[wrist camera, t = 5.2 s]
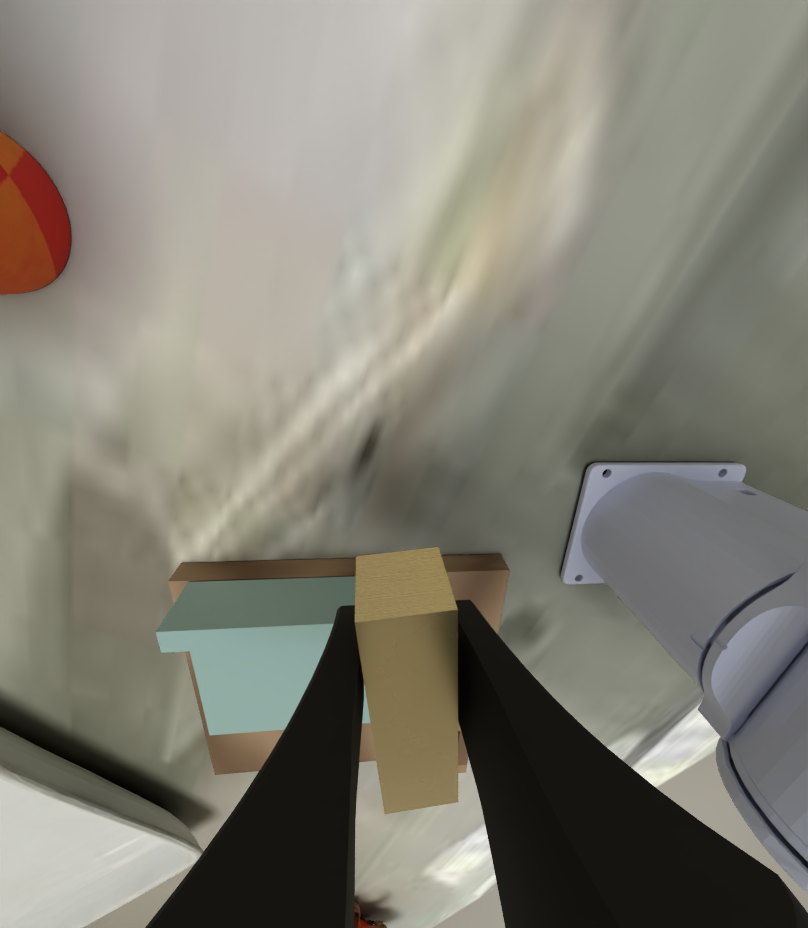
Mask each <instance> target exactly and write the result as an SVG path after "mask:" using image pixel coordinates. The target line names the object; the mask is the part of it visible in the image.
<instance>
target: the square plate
mask: <svg viewBox="0 0 808 928" xmlns="http://www.w3.org/2000/svg"><path fill="white" fill-rule="evenodd" d="M203 852H204V851H203V850H202V848H201V847H200V846H199V844H198V842H197V840H196V839H195V837H194V836H193V834H192V833H191V832H190V830H189V829H188V828H187V826H186V825H184V824H183V823H182V822H181V821H180V820H179V819H177V818H176V817H175V816H174V815H172V814H171V813H169V812H168V811H166V810H165V809H163V808H161V807H159V806H157V805H155V804H153V803H152V802H150V801H148V800H146V799H144V798H142V797H140V796H138V795H136V794H134V793H132V792H130V791H128V790H126V789H124V788H122V787H120V786H118V785H116V784H114V783H112V782H110V781H108V780H106V779H104V778H102V777H100V776H98V775H96V774H94V773H92V772H90V771H88V770H86V769H84V768H82V767H80V766H78V765H76V764H74V763H72V762H69V761H67V760H65V759H63V758H61V757H59V756H57V755H55V754H53V753H51V752H49V751H46V750H44V749H43V748H41V747H39V746H37V745H35V744H33V743H31V742H29V741H27V740H25V739H23V738H21V737H19V736H17V735H15V734H14V733H12V732H10V731H8V730H6V729H4V728H2V727H0V928H83V927H85V926H87V925H88V924H90V923H92V922H94V921H96V920H97V919H99V918H101V917H103V916H104V915H106V914H108V913H110V912H112V911H114V910H115V909H117V908H119V907H121V906H123V905H124V904H126V903H128V902H130V901H132V900H133V899H135V898H137V897H139V896H141V895H142V894H144V893H146V892H147V891H149V890H151V889H153V888H154V887H156V886H158V885H160V884H161V883H163V882H165V881H167V880H168V879H170V878H172V877H173V876H175V875H177V874H178V873H180V872H182V871H183V870H185V869H187V868H188V867H190V866H192V865H193V864H195V863H196V862H197V860H198V859H199V858H200V856H201V855H202V854H203Z"/></svg>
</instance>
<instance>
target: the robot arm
mask: <svg viewBox="0 0 808 928" xmlns="http://www.w3.org/2000/svg"><path fill="white" fill-rule="evenodd" d="M606 469H607V472H606V473H605V474H604V475H602V473H603V471H605V470H606ZM745 473H746V467H745V466H744V465H742V464H740V463H593V464H591V465H590V466H589V467H588V468H587V470H586V474H585V478H584V482H583V486H582V490H581V494H580V498H579V502H578V506H577V510H576V515H575V519H574V523H573V527H572V531H571V535H570V539H569V543H568V547H567V551H566V555H565V559H564V563H563V568H562V572H561V579H562V580H563V582H564V583H565V584H592V583H606V584H607V585H608V586H609V587H610V588H611V590H612V591H613V592H614V593H615V594H616V595H617V596H618V597H619V599H620V600H621V601H622V602H623V603H624V604H625V605H626V606H627V607H628V609H629V610H630V611H631V612H632V613H633V614H634V615H635V616H636V617H637V619H638V620H639V621H640V622H641V623H642V624H643V625H644V626H645V627H646V629H647V630H648V631H649V632H650V633H651V634H652V635H653V636H654V637H655V639H656V640H657V641H658V642H659V643H660V644H661V645H662V646H663V647H664V649H665V650H666V651H667V652H668V653H669V654H670V655H671V656H672V658H673V659H674V660H675V661H676V662H677V663H678V664H679V665H680V666H681V668H682V669H683V670H684V671H685V672H686V673H687V674H688V675H689V676H690V678H691V679H692V680H693V681H694V682H695V683H696V684H697V685H698V686H699V688H700V689H701V690H702V691H703V692H704V698H703V701H702V703H701V704H700V706H699V708H698V710H699V712H700V713H701V714H702V715H703V716H704V717H705V719H706V720H707V721H708V722H709V723H710V725H711V726H712V727H713V728H714V729H715V730H716V732H717V733H718V734H719V735H720V736H721V738H720V739H719V741H718V744H717V747H716V761H717V766H718V770H719V773H720V776H721V778H722V781H723V783H724V786H725V788H726V790H727V791H728V793H729V795H730V797H731V799H732V801H733V803H734V805H735V806H736V808H737V809H738V811H739V812H740V814H741V815H742V817H743V818H744V820H745V822H746V823H747V824H748V826H749V827H750V828H751V830H752V831H753V833H754V834H755V836H756V837H757V838H758V840H759V841H760V842H761V843H762V845H763V846H764V847H765V848H766V850H767V851H768V852H769V853H770V855H771V856H772V857H773V858H774V859H775V860H776V862H777V863H778V864H779V865H780V866H781V867H782V868H783V869H784V871H785V872H786V873H787V874H788V875H789V876H790V877H791V878H792V879H793V880H794V881H795V882H796V883H797V884H798V885H799V886H800V887H801V888H802V889H803V890H804V891H805V892H806V893H807V894H808V512H807V511H805V510H802V509H800V508H798V507H796V506H793V505H791V504H789V503H787V502H784V501H782V500H780V499H778V498H776V497H773V496H771V495H769V494H767V493H764V492H762V491H760V490H758V489H755V488H753V487H751V486H749V485H747V484H744V483H742V481H743V478H744V476H745ZM577 575H579V576H577ZM576 576H577V577H576ZM455 602H456V605H457V608H458V722H459V725H460V729H461V732H462V736H463V739H464V743H465V746H466V750H467V753H468V757H469V761H470V764H471V768H472V771H473V775H474V778H475V782H476V785H477V789H478V793H479V797H480V801H481V805H482V810H483V815H484V820H485V825H486V830H487V834H488V839H489V844H490V849H491V854H492V859H493V864H494V870H495V875H496V880H497V885H498V890H499V896H500V901H501V906H502V911H503V917H504V922H505V927H506V928H808V913H807V912H806V910H805V909H804V907H803V906H802V905H801V904H800V902H799V901H798V900H797V898H796V897H795V896H794V895H793V893H792V892H791V891H790V889H789V888H788V887H787V886H786V884H785V883H784V882H783V881H782V880H781V878H780V877H779V876H778V875H777V874H776V873H774V872H773V871H772V870H770V869H769V868H767V867H766V866H764V865H763V864H761V863H760V862H759V861H757V860H756V859H754V858H753V857H751V856H750V855H748V854H747V853H745V852H744V851H743V850H741V849H740V848H738V847H737V846H735V845H734V844H732V843H731V842H729V841H728V840H727V839H725V838H723V837H722V836H721V835H719V834H718V833H716V832H715V831H713V830H712V829H710V828H709V827H708V826H706V825H705V824H703V823H702V822H700V821H699V820H697V819H696V818H695V817H694V816H692V815H691V814H690V813H688V812H687V811H686V810H684V809H683V808H682V807H680V806H679V805H678V804H676V803H675V802H674V801H672V800H671V799H670V798H668V797H667V796H666V795H664V794H663V793H662V792H660V791H659V790H658V789H657V788H655V787H654V786H653V785H652V784H650V783H649V782H648V781H647V780H645V779H644V778H643V777H642V776H641V775H639V774H638V773H637V772H636V771H634V770H633V769H632V768H631V767H630V766H628V765H627V764H626V763H625V762H623V761H622V760H621V759H620V758H619V757H617V756H616V755H615V754H614V753H612V752H611V751H610V750H609V749H608V748H607V747H605V746H604V745H603V744H602V743H601V742H600V741H599V740H598V739H597V738H595V737H594V736H593V735H592V734H591V733H590V732H589V731H588V730H586V729H585V728H584V727H583V726H582V725H581V724H580V723H579V722H578V721H577V720H576V719H575V718H574V717H573V716H572V715H571V714H569V713H568V712H567V711H566V710H565V709H564V708H563V707H562V706H561V705H560V704H559V703H558V702H557V701H556V700H555V699H554V698H553V697H552V696H551V695H550V693H549V692H548V691H547V690H546V689H545V688H544V687H543V686H542V685H541V684H540V683H539V682H538V681H537V680H536V679H535V678H534V676H533V675H532V674H531V673H530V672H529V671H528V670H527V669H526V668H525V666H524V665H523V664H522V663H521V662H520V661H519V659H518V658H517V657H516V656H515V655H514V654H513V652H512V651H511V650H510V649H509V648H508V647H507V645H506V644H505V643H504V642H503V641H502V639H501V638H500V637H499V636H498V634H497V633H496V632H495V631H494V629H493V628H492V627H491V625H490V624H489V623H488V622H487V620H486V619H485V618H484V616H483V615H482V614H481V612H480V611H479V610H478V608H477V607H476V606H475V604H474V603H473V602H472V601H471V600H455ZM363 706H364V679H363V673H362V666H361V660H360V654H359V647H358V641H357V635H356V628H355V605H346V606H340V607H339V608H338V609H337V613H336V617H335V621H334V624H333V627H332V630H331V633H330V636H329V638H328V641H327V644H326V646H325V649H324V651H323V653H322V656H321V658H320V660H319V663H318V665H317V667H316V669H315V672H314V674H313V676H312V678H311V680H310V682H309V684H308V686H307V688H306V690H305V692H304V694H303V696H302V698H301V700H300V702H299V704H298V706H297V708H296V710H295V712H294V714H293V715H292V717H291V719H290V721H289V723H288V724H287V726H286V728H285V730H284V732H283V733H282V735H281V737H280V738H279V740H278V742H277V743H276V745H275V747H274V748H273V750H272V752H271V754H270V755H269V757H268V758H267V760H266V762H265V763H264V765H263V766H262V768H261V769H260V771H259V772H258V774H257V776H256V777H255V779H254V780H253V782H252V783H251V785H250V787H249V788H248V790H247V791H246V793H245V794H244V796H243V797H242V799H241V800H240V802H239V803H238V805H237V806H236V807H235V809H234V810H233V812H232V813H231V815H230V816H229V818H228V819H227V820H226V822H225V823H224V824H223V826H222V827H221V829H220V830H219V831H218V833H217V834H216V836H215V837H214V838H213V840H212V841H211V842H210V844H209V845H208V847H207V848H206V849H205V851H204V852H203V854H202V855H201V856H200V858H199V859H198V860H197V862H196V863H195V865H194V866H193V867H192V869H191V870H190V871H189V873H188V874H187V875H186V877H185V878H184V879H183V881H182V882H181V883H180V885H179V886H178V887H177V888H176V890H175V891H174V892H173V893H172V895H171V896H170V897H169V899H168V900H167V901H166V902H165V904H164V905H163V906H162V907H161V909H160V910H159V911H158V912H157V914H156V915H155V916H154V917H153V919H152V920H151V921H150V923H149V924H148V925H147V926H146V928H354V893H355V815H356V795H357V783H358V770H359V757H360V744H361V732H362V719H363Z"/></svg>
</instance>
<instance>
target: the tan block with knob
mask: <svg viewBox="0 0 808 928" xmlns="http://www.w3.org/2000/svg"><path fill="white" fill-rule="evenodd" d="M355 628H356V635H357V641H358V647H359V654H360V660H361V666H362V673H363V679H364V685H365V692H366V698H367V704H368V711H369V717H370V723H371V730H372V736H373V742H374V749H375V755H376V761H377V768H378V774H379V780H380V787H381V793H382V799H383V806H384V812H385V814H388V813H394V812H400V811H406V810H413V809H419V808H425V807H431V806H437V805H443V804H449V803H455V802H458V608H457V605H456V602H455V599H454V596H453V592H452V589H451V586H450V583H449V579H448V576H447V573H446V570H445V566H444V563H443V560H442V557H441V553H440V550H439V547H434V548H425V549H416V550H408V551H399V552H390V553H381V554H373V555H364V556H356V583H355Z"/></svg>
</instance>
